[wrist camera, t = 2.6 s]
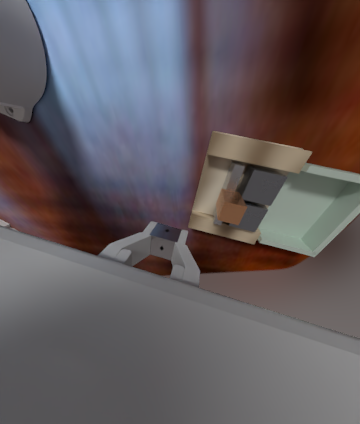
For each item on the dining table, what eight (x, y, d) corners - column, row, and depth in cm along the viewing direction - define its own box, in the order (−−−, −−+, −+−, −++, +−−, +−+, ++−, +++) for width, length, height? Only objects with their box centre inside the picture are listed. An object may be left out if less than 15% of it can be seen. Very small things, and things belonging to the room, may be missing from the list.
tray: (252, 228, 24) (259, 242, 21) (291, 159, 18) (310, 164, 15) (299, 239, 24) (314, 257, 20) (356, 173, 18) (391, 181, 14)
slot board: (189, 219, 26) (187, 228, 23) (212, 131, 18) (213, 129, 16) (249, 234, 25) (253, 245, 23) (298, 148, 18) (313, 149, 15)
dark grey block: (236, 191, 21) (240, 199, 18) (247, 165, 19) (254, 169, 16) (262, 197, 20) (270, 206, 18) (276, 171, 18) (288, 176, 16)
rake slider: (209, 213, 23) (209, 240, 17) (227, 160, 19) (236, 170, 12) (223, 216, 23) (228, 245, 17) (244, 163, 18) (262, 176, 12)
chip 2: (226, 215, 23) (228, 225, 20) (235, 195, 21) (239, 202, 18) (249, 221, 23) (254, 232, 20) (261, 200, 21) (268, 209, 18)
